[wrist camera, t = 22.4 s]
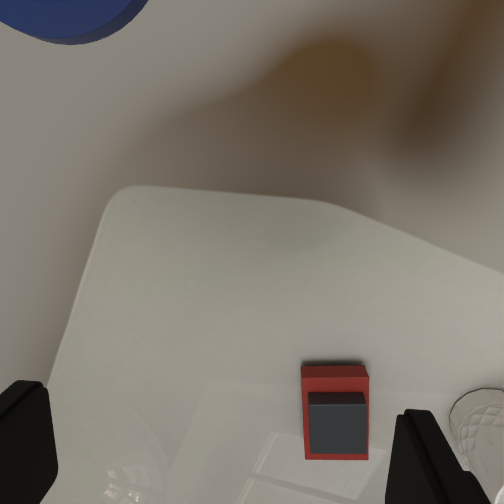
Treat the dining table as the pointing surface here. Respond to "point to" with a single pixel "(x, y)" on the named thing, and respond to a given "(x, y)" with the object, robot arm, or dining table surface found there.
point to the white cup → (482, 438)
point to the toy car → (335, 412)
